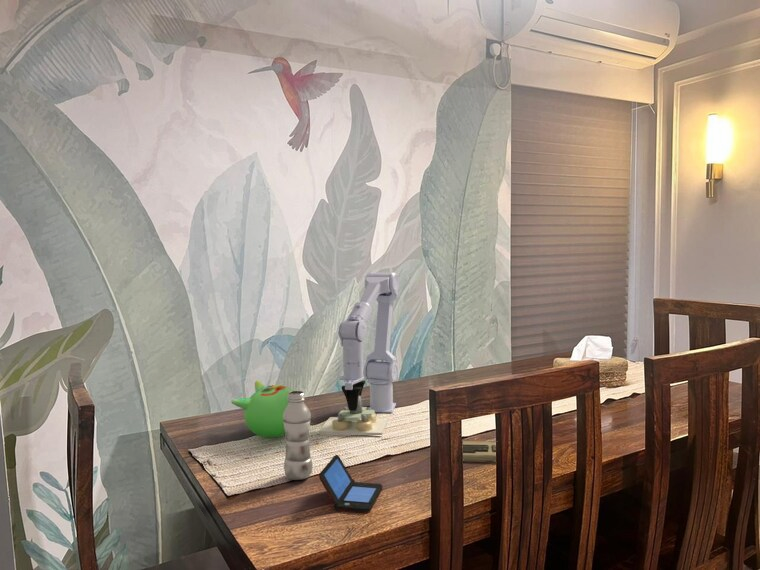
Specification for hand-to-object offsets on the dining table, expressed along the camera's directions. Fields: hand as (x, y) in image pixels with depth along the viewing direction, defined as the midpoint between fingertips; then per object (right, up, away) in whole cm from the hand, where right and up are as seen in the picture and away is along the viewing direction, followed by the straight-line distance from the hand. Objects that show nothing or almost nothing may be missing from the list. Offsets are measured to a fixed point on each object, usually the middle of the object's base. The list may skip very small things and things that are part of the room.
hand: (354, 408), depth 167 cm
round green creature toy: (-23, -7, -4) cm, 24 cm away
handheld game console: (+2, -10, -45) cm, 46 cm away
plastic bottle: (-11, -9, -34) cm, 37 cm away
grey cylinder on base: (+1, -2, 0) cm, 2 cm away
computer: (+30, -8, -23) cm, 38 cm away
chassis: (0, -6, 0) cm, 6 cm away
